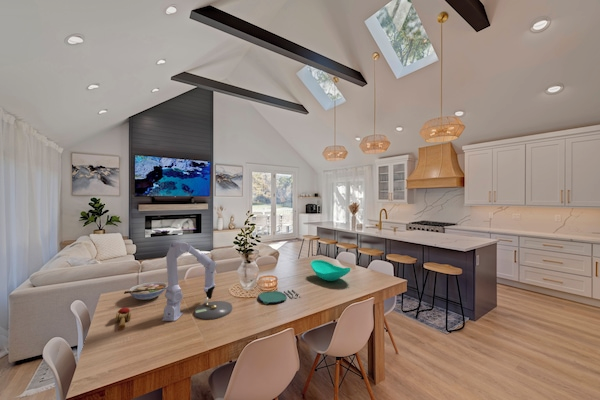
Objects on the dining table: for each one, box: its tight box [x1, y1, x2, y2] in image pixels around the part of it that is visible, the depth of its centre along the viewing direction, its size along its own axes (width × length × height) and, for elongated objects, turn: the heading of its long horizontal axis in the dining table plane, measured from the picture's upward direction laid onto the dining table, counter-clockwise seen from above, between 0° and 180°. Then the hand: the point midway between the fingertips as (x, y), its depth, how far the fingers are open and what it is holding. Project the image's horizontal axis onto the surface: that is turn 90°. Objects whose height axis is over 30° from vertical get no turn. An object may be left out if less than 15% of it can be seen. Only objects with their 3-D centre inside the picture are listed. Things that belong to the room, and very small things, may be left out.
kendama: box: [114, 307, 132, 331], centre depth 136 cm, size 8×6×18 cm
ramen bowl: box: [123, 281, 168, 301], centre depth 170 cm, size 25×23×8 cm
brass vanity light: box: [202, 296, 217, 309], centre depth 154 cm, size 11×3×5 cm, turn 61°
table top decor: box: [310, 259, 352, 282], centre depth 216 cm, size 40×28×13 cm
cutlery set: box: [257, 289, 300, 305], centre depth 175 cm, size 20×30×2 cm, turn 116°
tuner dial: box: [194, 300, 233, 320], centre depth 153 cm, size 22×22×2 cm
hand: (209, 298), depth 163 cm, fingers closed
